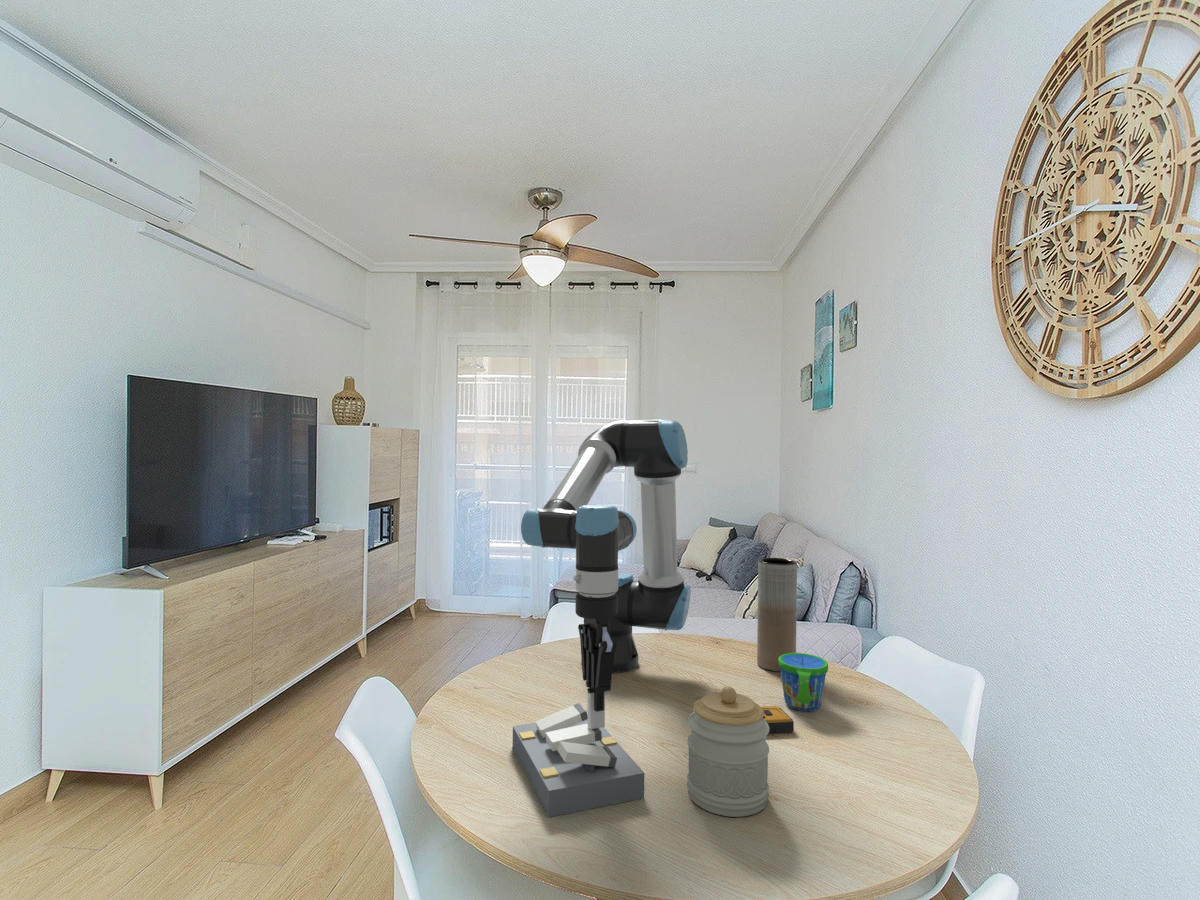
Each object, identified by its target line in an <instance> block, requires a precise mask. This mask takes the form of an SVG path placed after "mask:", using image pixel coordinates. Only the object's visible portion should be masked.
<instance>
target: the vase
mask: <svg viewBox="0 0 1200 900" xmlns="http://www.w3.org/2000/svg"><path fill="white" fill-rule="evenodd" d="M757 561H758V563H757V633H756V636H757V638H756V639H757V641H756V643H757V644H756V646H757V647H756V663H757V666H758V667H759V668H761V669H764V670H766V671H770V672H776V673H777V672H779V673H781V669H780V667H779V664H778V658H779V657H780V656H781V655H783V654H787V653H797V619H798V618H797V611H798V607H797V605H798V603H797V601H798V599H797V598H798V597H797V596H798V593H797V592H798V562H797V561H796V560H794V559H789V558H782V557H763V558H758V560H757Z"/></svg>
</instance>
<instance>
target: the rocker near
mask: <svg viewBox="0 0 1200 900" xmlns="http://www.w3.org/2000/svg"><path fill="white" fill-rule="evenodd" d="M557 751H558V752H559V754H560V755H561V757H562V758H563V760H564V761H565V762H571V763H580V764H589V765H598V766H607V767H614V768H615V767H616V763H617V759H618V758H617V757H616V756H615V754H614V753H613V752H612V751H611V750H610V748H609V747H603V746H594V745H586V744H577V743H569V742H561V741H560V742H559V746H558V750H557Z"/></svg>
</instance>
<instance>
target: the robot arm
mask: <svg viewBox="0 0 1200 900" xmlns="http://www.w3.org/2000/svg"><path fill="white" fill-rule="evenodd" d="M685 433H686V432H685V430H684V428H683V426H682V424H681V423H680V422H679V421H677V420H670V419H663V418H662V419H632V420H629V419H621V420H615V421H612V422H609V423H607V424H605V425H603V426H601V427H599V428H598V429H596V430H595V431H593V432H592V433H591V434H590V435H588V436H587V437H586V438H585V439H584V440H583V442H582V443H581V444H580V446H579V449H578V451H577V458H576V459H575V461H574V462H573V464H572V465H571V467H570V468H569V469H568V471H567V473H566V474H565V476H564V477H563V479H562V480H561V481H560V483H559V484H558V486H557V487H556V489H555V490H554V492H553V493H552V495H551V497H550V498H549V499H548V501H547V502H546V504H545V505H544V506H543V507H542V508H539V507H537V508H529V509H527V510H525V512H524V513H523V516H522V518H521V523H520V533H521V538H522V540H523V542H524V543H525V544H526V545H528V546H531V547H540V548H542V549H544V548H552V549H573V550H575V574H574V575H573V576H572V577H573V580H574V581H575V590H576V592H577V593H576V594H575V608H574V609H575V615H577V616H578V617H580V618H582V619H583V623H579V624H578V627H577V630H578V634H579V639H580V641H579V642H580V643H579V644H580V654H581V655H580V656H581V658H580V659H581V662H580V663H581V670H582V671H581V672H582V680H583V681H585V686H586V687H587V688H586V689H587V726H588V727H589V728H590V729H596V728H602V727H604V728H605V727H606V726H605V725H606V720H605V719H606V717H605V716H606V692H611V687H612V680H613V678H612V677H613V674H614V673H623V672H624V673H625V672H628V671H631V670H634V669H636V668H637V667H638V666H639V658H640V657H639V652H638V649H637V645H636V643H635V640H634V636H633V627H636V628H646V629H647V628H648V629H655V630H663V631H679V630H682V629H683V628H684V627H685V625H686V621H687V618H688V613H689V609H690V602H691V593H692V590H691V585H689V584H687V583H685V581H684V580H685V578H684V575H683V574H682V573H681V572H679V570H678V545H677V544H678V539H677V535H678V534H677V506H676V505H677V502H676V494H677V493H676V480H677V479H678V478H679V477H680V476H681V475H682V469H685V468H686V467H687V465H688V444H687V443H688V442H687V438H686V434H685ZM617 467H619V468H620V467H625V468H626V467H627V468H629V467H630V468H633V476H634V477H635V478H636V479H638V481H639V482H640V499H641V500H640V501H641V502H640V504H641V526H642V527H641V529H642V554H643V559H642V560H643V571H642V572H641V573H640V574H639V576H638V577H637V578H638V579H637V580H634V576H633V574H631V573H624V572H623V573H622V572H621V573H619V551H622V550H625V549H627V548H628V547H629V546H630V545H631V544H632V543H633V541H634V540H635V538H636V536H637V533H638V531H637V523H636V521H635V519H634V518H633V516H632V515H630V514H629V513H628V512H626V511H623V510H618V508H617V507H616V506H614V505H609V504H589V502H590V501H591V499H592V497H593V495H594V494H595V492H596V490H597V489H598V487H599V485H600V484H601V482H602V480H603V479H604V477H605V475H607V474H609V473H610V472H611V471H613V469H614V468H617Z"/></svg>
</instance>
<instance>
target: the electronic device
mask: <svg viewBox="0 0 1200 900" xmlns="http://www.w3.org/2000/svg"><path fill="white" fill-rule="evenodd" d="M761 707H762V709H763V710H764V716H763V719H764V720H765V721H766V722H767V723H768V725H769V733H768V735H777V734H778V735H782V734H783V735H784V734H793V732H794V729H795V727H794V726H795V725H794V724H795V722H794V720H793V718H792V717H790V716H789V714H788V713H786V711H784V710H783V709H782V708H781V707H779V706H777V705H772V706H771V705H769V706H768V705H767V706H761Z"/></svg>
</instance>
